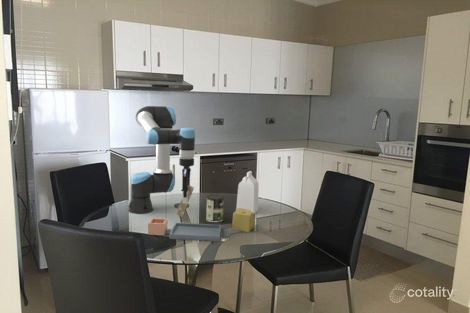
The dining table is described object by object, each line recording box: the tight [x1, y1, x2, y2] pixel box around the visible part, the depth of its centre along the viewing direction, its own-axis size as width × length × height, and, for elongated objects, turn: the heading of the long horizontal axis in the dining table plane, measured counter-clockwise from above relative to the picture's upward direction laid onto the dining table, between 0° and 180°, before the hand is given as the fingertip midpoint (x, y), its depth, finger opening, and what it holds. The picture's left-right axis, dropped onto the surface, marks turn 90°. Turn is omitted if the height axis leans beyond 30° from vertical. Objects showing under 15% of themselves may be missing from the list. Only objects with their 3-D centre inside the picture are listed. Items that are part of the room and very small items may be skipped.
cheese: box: [231, 208, 256, 233], centre depth 214 cm, size 10×11×10 cm
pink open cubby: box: [147, 217, 169, 236], centre depth 203 cm, size 9×9×6 cm
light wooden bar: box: [175, 185, 195, 217], centre depth 200 cm, size 8×4×16 cm, turn 89°
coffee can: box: [205, 194, 225, 223], centre depth 227 cm, size 10×10×14 cm
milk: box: [235, 170, 259, 215], centre depth 245 cm, size 12×12×26 cm
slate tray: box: [168, 222, 222, 242], centre depth 203 cm, size 26×18×2 cm
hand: (185, 201), depth 200 cm, fingers closed on light wooden bar, 4 cm apart
